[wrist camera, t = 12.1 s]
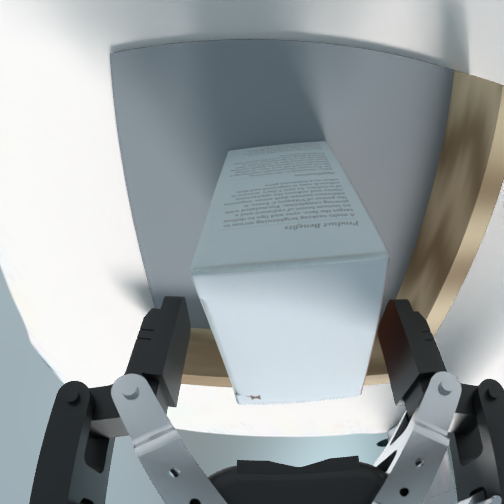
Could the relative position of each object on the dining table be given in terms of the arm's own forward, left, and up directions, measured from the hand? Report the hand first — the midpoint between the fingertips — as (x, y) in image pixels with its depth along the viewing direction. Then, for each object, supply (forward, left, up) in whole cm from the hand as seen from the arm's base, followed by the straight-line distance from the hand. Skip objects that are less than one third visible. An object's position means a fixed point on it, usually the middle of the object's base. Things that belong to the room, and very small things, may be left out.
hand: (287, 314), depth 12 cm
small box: (0, 0, -9) cm, 9 cm away
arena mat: (-1, 0, -9) cm, 9 cm away
